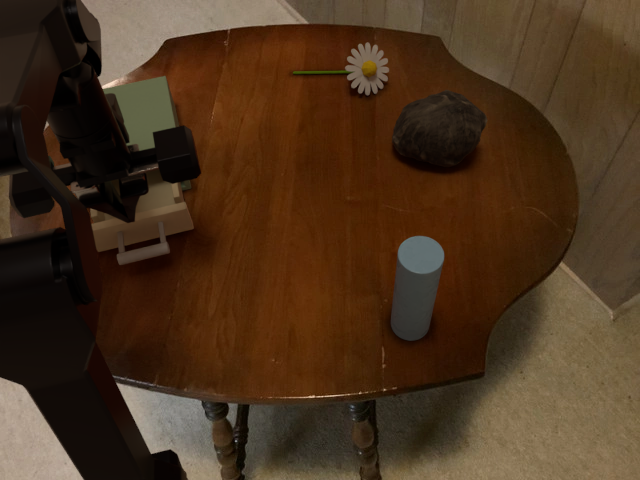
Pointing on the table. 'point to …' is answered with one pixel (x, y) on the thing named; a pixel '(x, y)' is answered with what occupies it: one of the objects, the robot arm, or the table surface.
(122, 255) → the drawer
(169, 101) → the cabinet
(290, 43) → the table surface
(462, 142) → the rock
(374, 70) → the decorative flower
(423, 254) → the canister
